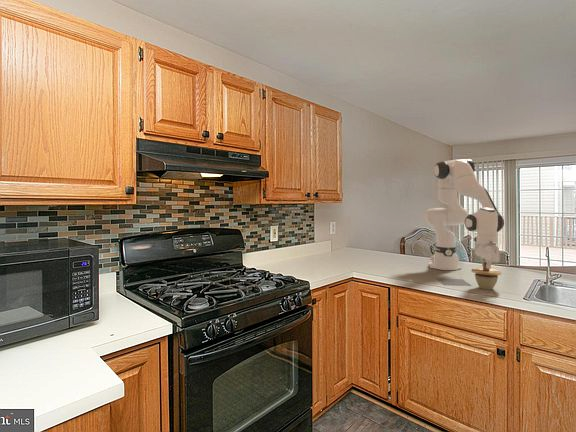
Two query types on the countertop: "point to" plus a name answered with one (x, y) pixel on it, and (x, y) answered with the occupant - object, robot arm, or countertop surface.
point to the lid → (486, 270)
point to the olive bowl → (486, 281)
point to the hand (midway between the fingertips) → (486, 267)
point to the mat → (454, 282)
